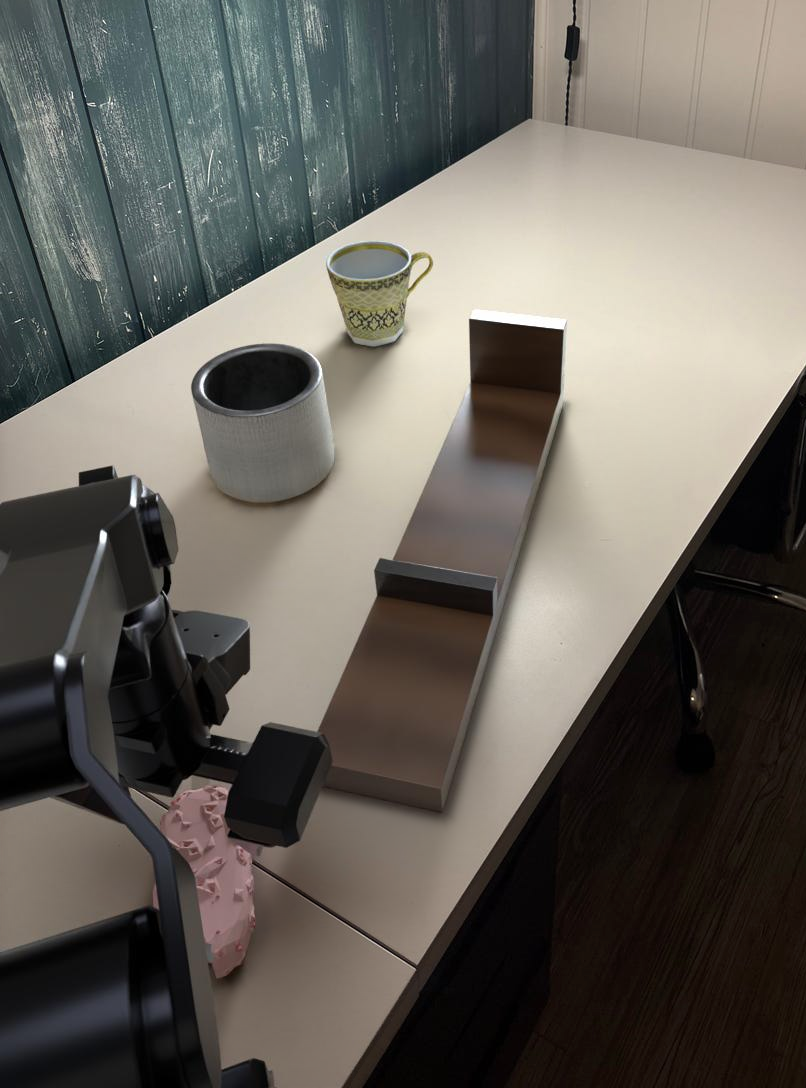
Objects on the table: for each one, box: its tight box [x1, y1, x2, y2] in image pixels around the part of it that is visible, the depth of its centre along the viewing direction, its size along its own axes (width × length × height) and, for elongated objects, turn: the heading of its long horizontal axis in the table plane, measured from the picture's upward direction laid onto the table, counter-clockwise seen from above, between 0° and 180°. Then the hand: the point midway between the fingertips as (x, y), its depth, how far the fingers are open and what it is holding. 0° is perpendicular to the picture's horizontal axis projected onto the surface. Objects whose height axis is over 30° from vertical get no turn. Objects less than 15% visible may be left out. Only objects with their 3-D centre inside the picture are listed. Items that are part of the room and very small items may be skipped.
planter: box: [190, 342, 335, 503], centre depth 94 cm, size 13×13×11 cm
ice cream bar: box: [152, 775, 256, 979], centre depth 62 cm, size 6×4×15 cm
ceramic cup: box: [325, 240, 434, 348], centre depth 115 cm, size 13×10×10 cm
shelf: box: [316, 309, 568, 813], centre depth 83 cm, size 50×10×11 cm, turn 166°
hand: (192, 832), depth 60 cm, fingers open, 9 cm apart
